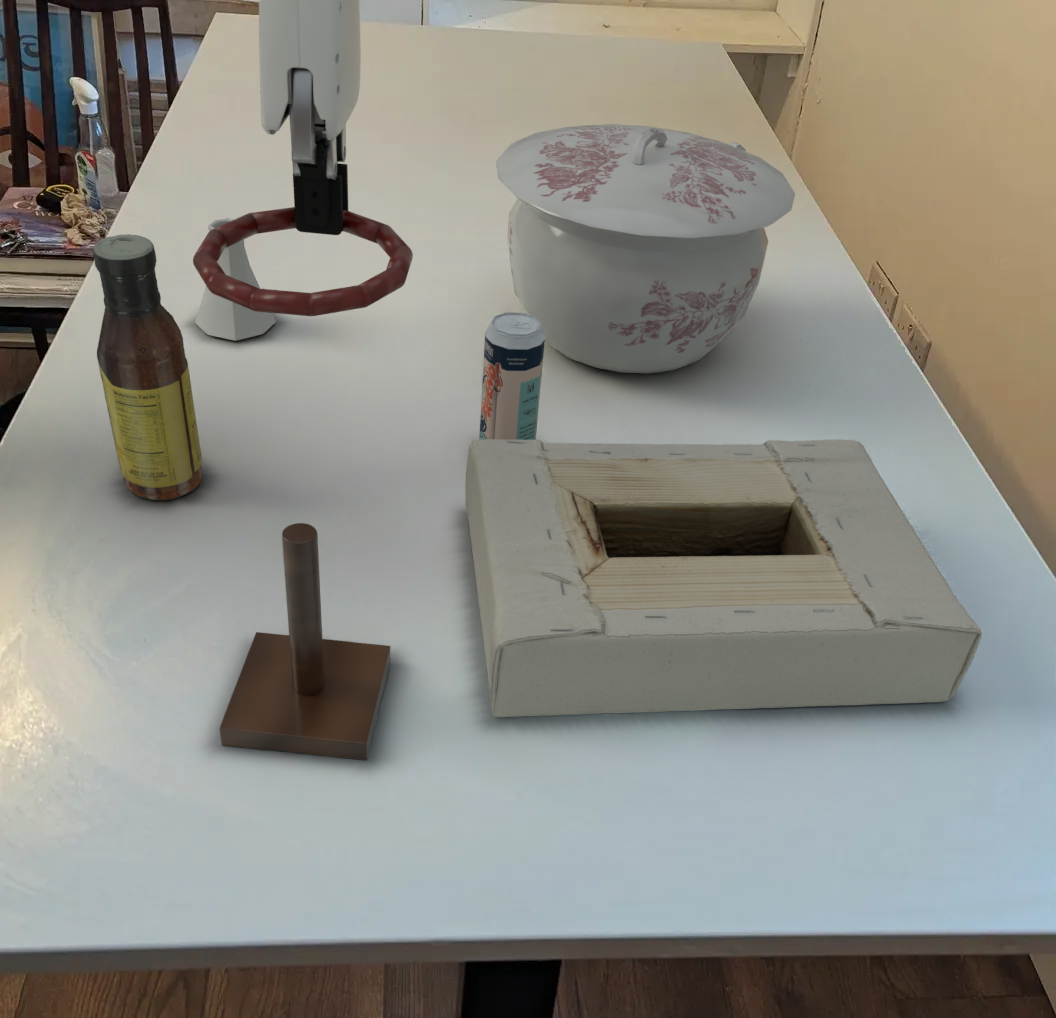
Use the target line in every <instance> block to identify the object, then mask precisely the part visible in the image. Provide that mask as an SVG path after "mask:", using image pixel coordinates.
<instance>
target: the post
mask: <svg viewBox="0 0 1056 1018" xmlns="http://www.w3.org/2000/svg"><path fill="white" fill-rule="evenodd" d="M318 535H319V534H318V530H317V528H316V527H315V526H313V525H311V524H309V523H306V522H305V523H304V522H296V523H291V524H289V525H287V526H286V527H284V528H283V530H282V532H281V541H282V542H281V543H282V555H283V556H282V557H283V569H284V583H285V584H284V585H285V599H286V611H287V625H288V634H278V633H269V632H260V631H255V634H254V636H253V640H252V642H251V645H250V648H249V650H248V653H247V655H246V657H245V660H244V662H243V665H242V668H241V671H240V672H239V673H240V674H239V675H238V678H237V680H236V683H235V687H234V689H233V692H232V694H231V697H230V699H229V702H228V704H227V707H226V710H225V711H224V712H225V713H224V715H223V716H222V717H223V718H222V720H221V723H220V725H219V728H218V729H219V736H220V737H219V738H220V743H221V746H228V747H237V748H239V747H240V748H246V749H254V750H255V749H257V750H267V751H275V752H285V753H295V754H304V755H315V756H322V757H323V756H324V757H333V758H334V757H335V758H343V759H353V760H362V761H367V760H368V758H369V753H370V749H371V745H372V740H373V735H374V731H375V727H376V723H377V719H378V715H379V711H380V707H381V702H382V699H383V694H384V690H385V687H386V682H387V678H388V674H389V670H390V666H391V645H384V644H378V643H377V644H375V643H365V642H359V641H357V642H356V641H347V640H337V639H327V638H323V622H322V621H323V620H322V618H323V617H322V601H321V599H322V598H321V580H320V579H321V577H320V559H319V558H320V557H319V536H318Z"/></svg>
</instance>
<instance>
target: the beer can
mask: <svg viewBox="0 0 1056 1018" xmlns="http://www.w3.org/2000/svg"><path fill="white" fill-rule="evenodd" d="M545 342H546V341H545V333H544V331H543V329H542V327H541V323H540V322H539V321H538V320H537V319H536V318H535V317H533V316H530V315H527V314H526V313H523V312H512V311H511V312H510V311H509V312H507V311H505V312H503V313H500V314H497V315H494V316H493V318H492V320H491V322H490V324H489V325H488V326H486V329H485V332H484V345H483V347H484V349H483V365H482V366H483V367H482V380H481V381H482V382H481V383H482V384H481V400H480V401H481V402H480V416H479V417H480V418H479V419H480V420H479V436H478V437H479V439H478V440H481V439H485V440H486V439H491V440H492V439H504V440H537V439H536V438H537V430H538V429H537V427H538V418H539V406H540V395H541V386H542V385H541V384H542V373H543V362H544V352H545Z"/></svg>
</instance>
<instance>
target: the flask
mask: <svg viewBox="0 0 1056 1018" xmlns="http://www.w3.org/2000/svg"><path fill="white" fill-rule="evenodd" d="M235 219H236V218H235ZM235 219H234V218H231V217H230V218H229V217H227V218H226V217H225V218H220V219H215V220H214V221H212V222H211V223H209V224H208V225H207V228H208V230H209V231H211V230H212V229H214V228H217V227H219V226H221V225H223V224H226V223H228V222H230V221H232V220H235ZM209 231H208V232H209ZM247 254H248V253H247V250H246V247H245V239H244V240H242V241H240V242H237V243H235V244H233V245H231V246H229V247H227V248H225V249H224V251H223V253H222V255H221V256H220V258H219V260H218V264H219V265H220V267H221V268H222V270H223V271H224V273H225V274H226V275H228V276H230V277H233V278H235V279H237V280H240V281H242V282H245V283H247V284H250V285H252V286H255V287H257V288H260V289H261V287H260V285H259V283H258V280H257V278H256V276H255V273H254V272H253V269H252V267H251V264H250V261H249V257H248V255H247ZM200 301H201V302H200V305H199V308H198V310H197V313H196V317H195V321H194V323H195V324H196V325H197V326H198V327H199V328H200V329H201V330H202V331H203V332H204V333H206V335H207V336H211V337H216V338H222V339H226V340H230V341H235V342H236V341H241V340H244V339H249V338H254V337H256V336H260V335H264V334H265V333H266V332H267V331H268V330H269V329H270V328H271V327H272V326H274V324H276V323H277V320H276V318H275V316H274V313H266V312H256V311H253V310H251V309H248V308H246V307H243V306H241V305H239V304H236V303H234V302H231V301H229V300H227V299H224V298H222V297H219V296H217V295H215V294H213V293H211V292H210V291H209V289H208V288H207V286H206V285H205V288H204V292H203V295H202V298H201V300H200Z"/></svg>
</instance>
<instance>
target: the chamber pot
mask: <svg viewBox="0 0 1056 1018" xmlns="http://www.w3.org/2000/svg"><path fill="white" fill-rule="evenodd" d="M495 165H496V175H497V179H498V180H499V181H500V182H501V183H502V184H503V185H504V187H505V188H507V189H508V190H509V191H510V193H511V194H512V195H513V196H514V197H515V198H516V201H515V203H514V204H513V205H512V207H511V209H510V210H509V211H508V219H507V236H506V237H507V239H506V240H507V248H508V256H509V264H510V270H511V278H512V286H513V292H514V294H515V296H516V297H517V300H518V301H519V303H520V305H521V307H522V308H523V310H524V312H525V314H527V315H530V316H533V317H535V318H536V319H537V320H538V321H539V322H540V323H541V327H542V329H543V331H544V333H545V342H546V343H547V344H548V346H550V348H552V349H553V350H555V351H557V352H558V353H560V354H561V355H563V356H565V357H567V358H568V359H570V360H572V361H576V362H578V363H581V364H584V365H586V366H589V367H592V368H595V369H601V370H607V371H613V372H617V373H627V374H629V373H631V374H653V373H662V372H663V373H664V372H669V371H676V370H679V369H681V368H683V367H686V366H689V365H691V364H695V363H696V362H698V361H699V360H701V359H703V358H704V357H705V356H706V355H707V354H709V353H710V352H711V351H712V350H713V349H714V348H716V347H717V346H718V344H719V343H721V341H722V340H723V339H724V338H725V337H726V336H727V335H728V334H730V332H732V330H734V328H735V327H736V326H737V325H738V324H739V323H740V322H741V321H742V320H743V319H744V318H745V315H746V313H747V310H748V308H749V306H750V304H751V301H752V299H753V297H754V295H755V292H756V290H757V288H758V286H759V283H760V279H761V276H762V272H763V269H764V265H765V259H766V255H767V250H768V246H769V238H768V235H767V233H766V229H765V228H768V227H769V226H771V225H773V224H775V223H776V222H778V221H779V220H780V219H782V218H783V217H785V216H786V215H787V214H788V213H790V212H791V211H792V209H793V205H794V201H795V196H796V192H795V191H794V189H793V187H792V186H791V184H790V183H789V181H788V180H787V177H786V176H785V175H784V173H783V172H782V171H780V170H779V169H777V168H776V167H775V166H774V165H772V164H770V163H769V162H768V161H766V160H764V159H762V157H760V156H758V155H755V154H754V153H753V154H752V153H750V152H748V151H747V150H746V148H745V147H744V146H743V145H742V144H741V143H737V142H735V141H733V142H730V143H725V142H722V141H720V140H716V139H712V138H709V137H705V136H702V135H698V134H694V133H690V132H687V131H682V130H675V129H670V128H669V129H668V128H663V127H656V126H649V125H633V124H618V123H616V124H614V123H607V124H606V123H605V124H588V125H575V126H564V127H560V128H554V129H549V130H544V131H539V132H535V133H532V134H530V135H528V136H525V137H523V138H521V139H519V140H516V141H514V142H512V143H510V144H509V146H507V147H506V149H505V150H504V151H503V152H502V153H501V154H500V156H499V157H498V158H497V159H496V160H495Z"/></svg>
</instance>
